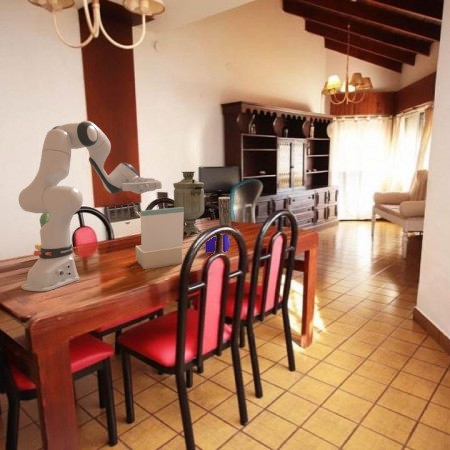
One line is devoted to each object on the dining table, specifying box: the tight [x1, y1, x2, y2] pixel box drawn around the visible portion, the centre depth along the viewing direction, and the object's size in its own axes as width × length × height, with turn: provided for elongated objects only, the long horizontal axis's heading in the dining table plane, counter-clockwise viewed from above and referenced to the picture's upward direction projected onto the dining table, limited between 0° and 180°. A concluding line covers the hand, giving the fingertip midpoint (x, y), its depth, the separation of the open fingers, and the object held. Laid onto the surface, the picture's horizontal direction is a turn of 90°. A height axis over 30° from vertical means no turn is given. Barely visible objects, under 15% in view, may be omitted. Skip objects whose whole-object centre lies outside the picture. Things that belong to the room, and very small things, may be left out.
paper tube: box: [218, 196, 232, 240], centre depth 216 cm, size 7×7×25 cm
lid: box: [140, 207, 185, 252], centre depth 161 cm, size 19×19×1 cm
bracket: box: [204, 234, 231, 254], centre depth 194 cm, size 18×11×12 cm, turn 159°
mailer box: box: [135, 244, 183, 270], centre depth 172 cm, size 15×18×8 cm
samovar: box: [167, 171, 205, 236], centre depth 235 cm, size 30×26×40 cm
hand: (145, 186), depth 182 cm, fingers closed
